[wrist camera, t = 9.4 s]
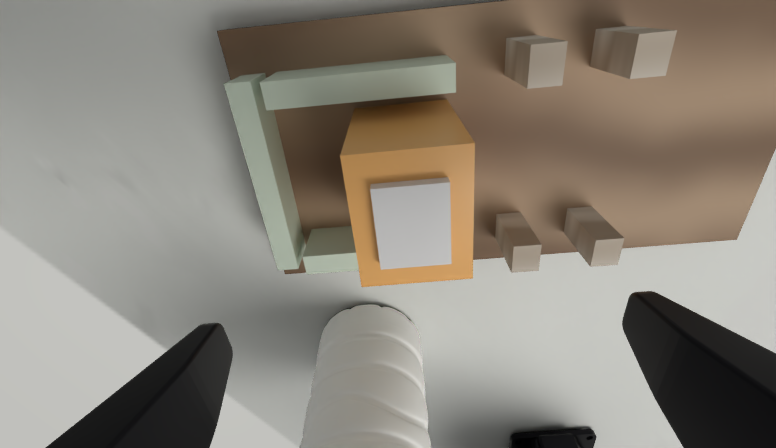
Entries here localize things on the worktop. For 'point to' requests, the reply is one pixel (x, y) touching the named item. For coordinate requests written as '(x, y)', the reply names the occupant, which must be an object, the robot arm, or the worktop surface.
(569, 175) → the board
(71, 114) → the worktop surface
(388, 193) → the orange upright block
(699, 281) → the worktop surface
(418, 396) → the water bottle
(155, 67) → the worktop surface
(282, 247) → the bracket
